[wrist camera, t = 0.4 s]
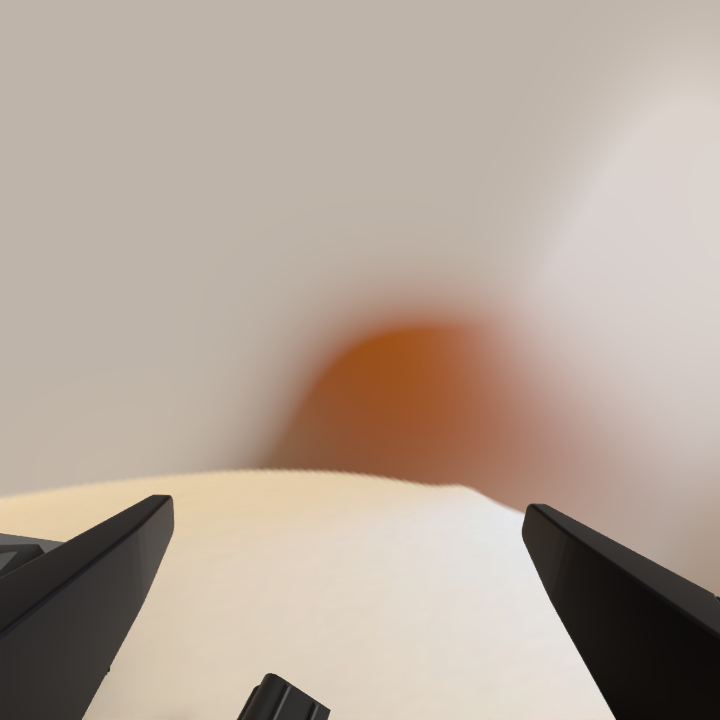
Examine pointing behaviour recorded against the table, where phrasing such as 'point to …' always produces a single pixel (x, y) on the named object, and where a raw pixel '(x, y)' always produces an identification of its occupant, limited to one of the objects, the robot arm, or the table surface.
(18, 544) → the cpu cooler
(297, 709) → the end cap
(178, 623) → the table surface
